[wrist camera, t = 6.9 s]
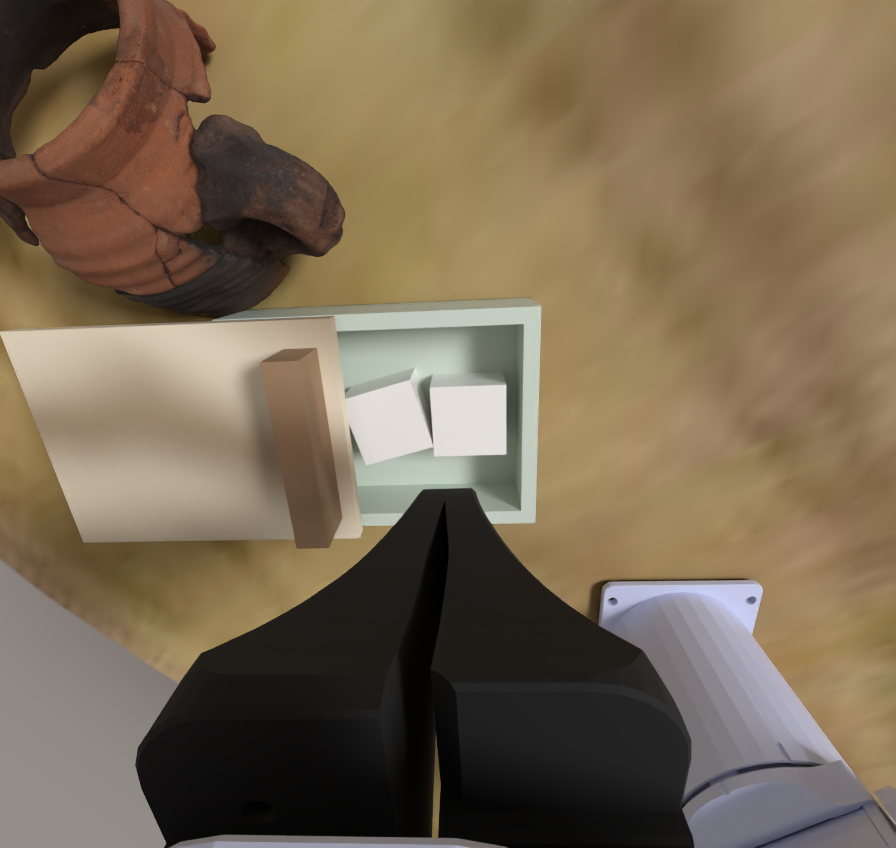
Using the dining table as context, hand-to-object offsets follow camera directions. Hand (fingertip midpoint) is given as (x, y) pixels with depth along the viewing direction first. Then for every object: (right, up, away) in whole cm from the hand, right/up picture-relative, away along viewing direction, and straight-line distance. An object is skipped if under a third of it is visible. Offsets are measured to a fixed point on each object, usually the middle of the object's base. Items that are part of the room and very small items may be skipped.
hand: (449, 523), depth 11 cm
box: (-2, +3, +9) cm, 10 cm away
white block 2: (+1, +3, +9) cm, 9 cm away
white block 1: (-2, +3, +9) cm, 10 cm away
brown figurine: (-9, +12, +7) cm, 16 cm away
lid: (-10, +2, +7) cm, 12 cm away
